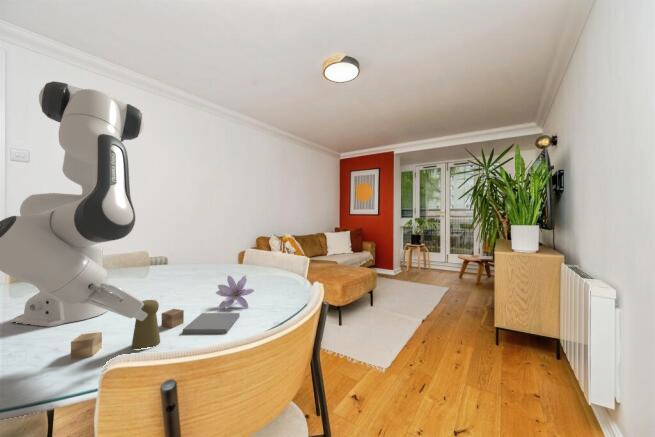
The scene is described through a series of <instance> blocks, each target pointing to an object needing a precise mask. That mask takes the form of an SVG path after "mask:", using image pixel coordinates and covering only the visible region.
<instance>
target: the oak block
mask: <svg viewBox="0 0 655 437" xmlns="http://www.w3.org/2000/svg"><path fill="white" fill-rule="evenodd" d="M101 349H103V332H102V331H99V332H91V333H89V332H88V333H81V334H80V335H78V336H77V337H76V338H74V339H73V340H72V341H70V360H75V359H82V358H91V357H94V356H95V355H96V354H97V353H98V352H100V350H101Z"/></svg>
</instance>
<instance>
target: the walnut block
mask: <svg viewBox="0 0 655 437" xmlns="http://www.w3.org/2000/svg"><path fill="white" fill-rule="evenodd" d="M184 312H185V311H184V310H183V309H178V308H172V309H169V310H167V311H164V312H161V327H162V328H166V329H167V328H168V329H174V328H176V327H179V326H181V325H182V324H184V322H185V321H184V320H185V318H184V317H185V316H184V314H185V313H184Z"/></svg>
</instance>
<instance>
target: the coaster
mask: <svg viewBox="0 0 655 437" xmlns="http://www.w3.org/2000/svg"><path fill="white" fill-rule="evenodd" d="M239 318H240V312H202V313H200V314H199V315H198V316H197V317H196V318H194V319H193V320H192V321H191V322H190V323H189V324H187V325H186V326H185V327H183V329H182V334H183V335H185V334H190V335H191V334H227V333H229V331H230V330H231V329H232V327H233V326H234V324H236V322H237V321H238V319H239Z"/></svg>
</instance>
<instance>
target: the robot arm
mask: <svg viewBox="0 0 655 437" xmlns="http://www.w3.org/2000/svg"><path fill="white" fill-rule="evenodd" d="M38 103H39V105H40V108H41V112H42V113H43V114H44V115H45V116H46V117H47V118H49V119H51V121H55V122H57V123H59V126H58V141H59V142H58V143H59V145H60V147H61V148H62V149H63V150H64V157H63V161H62V162H63V163H62V173H63V175H64V176H65V177H66V178H67V179H68V180H70V181H71V182H73V183H75V184H77V185H79V186H80V187H81V190H82V192H81V194H76V193H75V194H73V193H57V192H52V193H51V192H49V193H35V194H30V195H29V196H28V197H26V198H25V199H24V200H23V201H22V202H21V205H20V207H19V215H12V216H8V217H5V218H4V219H2V220H0V271H1V272H2V273H3V274H6V275H7V276H9V277H11V278H14V279H15V280H17V281H19V282H22V283H26V284H30V285H32V286H34V287H36V288H37V289H38V291H39V292H37V293H36V294H34V295H33V296H32V297H30V298H29V299H27V301H26V302H25V304H24V308H23V309H24V311H23V314H20V315H17V316H16V317H14V318H13V319H11V323H12V322H17V323H23V324H22V325H27V324H31V325H30V326H38V325H39V327H55V326H59V325H63V324H67V323H73V322H79V321H83V320H88V319H91V318H94V317H97V316H100V315H103V314H105V313H106V312H112V313H115V314H117V315H121V316H123V317H126V318H127V319H128V318H129V319H133V318H134V319H135V320H136V319H137V320H140V321H143V320H144V319H145V318H146V317H147V315H148V314H147V313H145V312H144V311H142V309H141V308H142V307H143V306H144V303H143V302H142V301H143V300H141V299H139V298H137V297H136V296H134V295H132V294H131V293H129V292H127V291H126V290H124V289H122V288H120V287H119V286H116V285H113V284H110V283H109V279H108V277H107V276H108V274H109V273H108V270H107V269H106V268H104V267H103V256H104V254H103V249H104V248H103V247H102V245H100V244H101V243H107V242H112V241H117V240H120V239H124V238H125V237H127V236H128V235H129V234H131V232H132V231H133V229H134V226H135V223H136V213H135V208H134V205H133V202H132V197H131V188H130V172H129V171H130V169H129V168H130V167H129V158H128V151H127V148H126V147H125V145H124V143H123V142H124V141H128V140H129V141H131V140H134V139H137V138H138V137H139V135H140V134H141V133H142V132H143V129H144V123H145V122H144V118H143V113H142V112H141V110H140V109H138V107H135V106H133V105H131V104H129V103H127V104H126V103H125V102H122V101H120V100H118V99H116V98H113V97H111V96H110V95H108V94H106V93H104V92H102V91H99V90H96V89H92V88H91V89H90V88H85V89H84V88H80V87H77V86H72V85H69V84H68V83H65V82H60V81H55V80H54V81H50V82H47V83H45V85H44V86H43V87H42V88H41V90H40V91H39V95H38ZM17 323H16V324H17Z"/></svg>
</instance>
